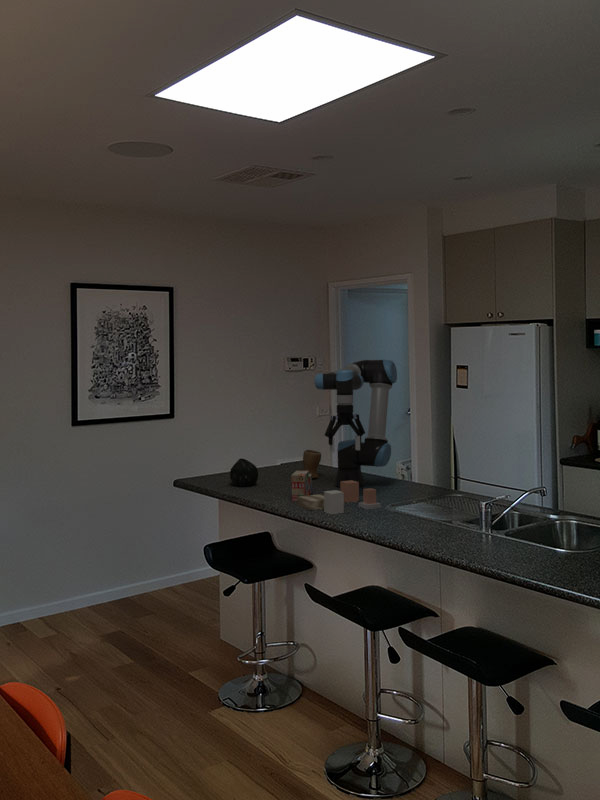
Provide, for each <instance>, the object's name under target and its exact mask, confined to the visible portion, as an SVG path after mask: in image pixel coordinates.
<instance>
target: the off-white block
mask: <svg viewBox="0 0 600 800" xmlns="http://www.w3.org/2000/svg"><path fill="white" fill-rule="evenodd" d="M323 495H324V509H323V513H324V512H326V513H325V514H327V513H329V514H328V515H330V514H337V513H344V514H345V512H344V511H345V510H344V508H345V507H344V506H345V505H344V503H345V502H344V492H340V490H336V489H334V490H326V491H323ZM337 515H338V514H337Z"/></svg>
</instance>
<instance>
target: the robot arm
mask: <svg viewBox="0 0 600 800" xmlns="http://www.w3.org/2000/svg"><path fill="white" fill-rule="evenodd" d="M397 380H398V369H397V367H396V363H394V361H393V360H392V359H391V360H390V359H362V360H359V361H355V362H352V363H348V364H347V365H346V366H345V367H343V368H340V369H336V370H334V371H330V372H327V373H323V372H322V373H317V374H316V375H315V376H314V387H315V388H316V389H317V390H323V391H324V390H325V391H326V390H332V391H333V390H334V391H335V390H336V404H337V405H336V415H333V414H332V415H330V420H329V423H328V425H327V427H326V430H325V433H324V437H327V438H328V446H329V452H330V453H333V454H334V453H335V452H336V451H335V449H336V448H335V446H336V443H335V442H336V441H335V440H336V439H335V435H336V433H337V432H338V431H339V429H340V427H342V426H347V425H348V426H350V428H351V429H352V431H354V432H355V434H356V435H355V438H354V439H347V440H342V441H341V440H340V441H339V442H338V443H337V472H336V475H335V478H334V486H335V487H337V486H338V488H340V481H349V480H352V481H356V482H359V488H361V486H362V487H365V479H364V476H363V473H362V468H361V467H362V466H364V467H376V468H377V467H383V468H384V467H385V466H387V465H388V463H389V461H390V459H391V457H392V445H391V444H390V443H388V442H389V441H388V439H387V438H386V429H387V417H388V405H389V393H390V390H391V389H392V388H393V384H395V383H397ZM364 383H366V384H368V385H369V387H370V388H371V396H370V406H369V407H370V408H369V419H368V431H367V436H366V437H365V438H364V441H362V437H363V436H364V435H365V434H366V431H365V429H364V427H363V424H362V422H361V420H360V419H361V418H360V414H357V413H355V414H353V413H354V405H353V404H354V391H357V390H359V389H361V388H362V387H363V385H364Z"/></svg>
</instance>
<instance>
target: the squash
mask: <svg viewBox="0 0 600 800" xmlns="http://www.w3.org/2000/svg"><path fill="white" fill-rule="evenodd" d="M229 477H230V481H231V483H232V484H234V486H236V487H241V486H244V487H245V486H246V487H251V486H250V485H252V486H254V485H255V484H256V483H257V481H258V479H259V470H258V467H257V466H256V465H255V464H254V463H253V462H252V461H249V460H247V459H246V458H239V459H238V460H237V461H236V462H235V463H234V464H233V465H232V467H231V468H230V471H229Z"/></svg>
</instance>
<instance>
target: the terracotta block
mask: <svg viewBox="0 0 600 800" xmlns="http://www.w3.org/2000/svg"><path fill="white" fill-rule="evenodd" d="M339 488H340V490H339V491H340V492H344V503H345V502H347V503H346V504H349V503H348V502H354V503H358V502H357V501H359V502H360V490H359V489H360V487H359V482H356V481H352V480H349V481H340V487H339Z"/></svg>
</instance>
